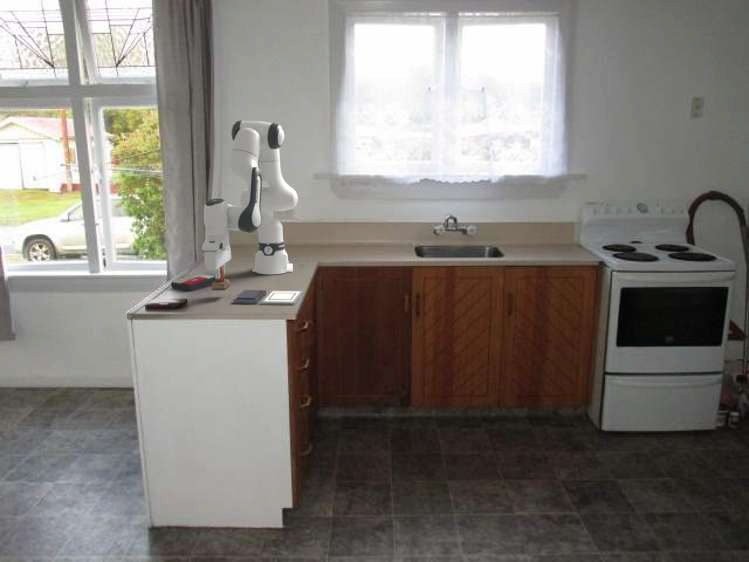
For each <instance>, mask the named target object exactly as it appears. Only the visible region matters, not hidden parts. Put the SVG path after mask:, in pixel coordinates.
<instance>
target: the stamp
mask: <svg viewBox="0 0 749 562" xmlns="http://www.w3.org/2000/svg"><path fill="white" fill-rule="evenodd" d="M219 271H220V273H221V278H219V279H216V280H215V281H214V282H213V283H212V286H211V290H212V291H224V292H225V291H226V290H227V289H229V288H230V279H226V278H225V274H224V265H223V266H221V267H220V270H219Z"/></svg>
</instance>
